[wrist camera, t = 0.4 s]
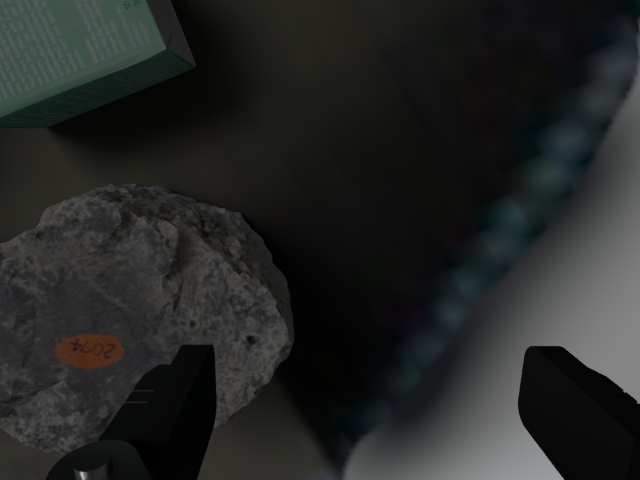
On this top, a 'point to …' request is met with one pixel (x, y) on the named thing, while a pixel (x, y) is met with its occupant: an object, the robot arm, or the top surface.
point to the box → (83, 55)
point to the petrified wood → (131, 309)
